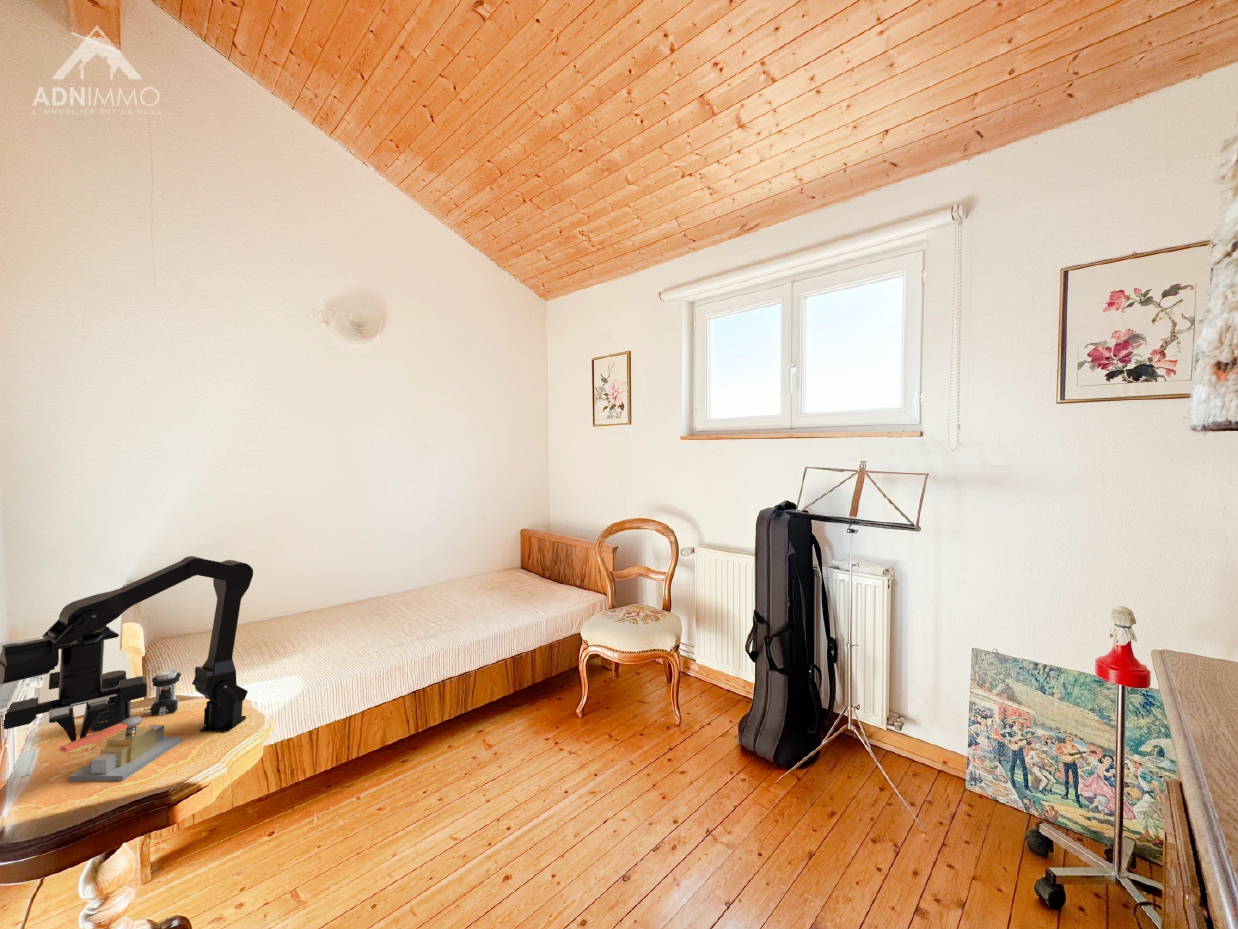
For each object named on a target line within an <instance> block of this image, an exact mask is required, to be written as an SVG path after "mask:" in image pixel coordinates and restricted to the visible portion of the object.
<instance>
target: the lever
mask: <svg viewBox="0 0 1238 929" xmlns="http://www.w3.org/2000/svg"><path fill="white" fill-rule="evenodd" d="M141 724H142V716H137V715H136V716H130V718H127V719H125V720H123V721H122V722H121V723H119V724H116V725H114V726H111V727H109V728H106V729H104V730H101V731H95V732H94V733H91V734H89V735H88V734H87V735H86V737H83V738H81V739H80V738H78V739H76V740H75V741H73V742H71V741H70V742H68V743H66V744H63V745H60V747H59V751H60V752H64V753H68V752H70V751H73V750H76V749H78V748H81V747H83V746H86V745H88V744H91V743H93V742H96V741H99V740H101V739H102V738H105V737H108V736H111V735H113V734H115V733H116V734H117V733H119V732H120V731H121V732H122V731H124V730H126V728H132V727H135V726H136V727H137V726H139V725H141Z"/></svg>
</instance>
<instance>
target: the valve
mask: <svg viewBox="0 0 1238 929" xmlns="http://www.w3.org/2000/svg"><path fill="white" fill-rule="evenodd" d="M164 734H165V725H164V724H150V725H149V726H147V727H145V726H143V727H137V726H135V727H132V728H126V729H123V730H121V732H120V731H119V732H117V733H116V734H115V735H113V736H111V737H110V738H107V739H106V741H105V742H106V743H105V747H103V748H101V749H100V754H99V755H98V756H97V755H96V757H93V758H92V759H91V762H90V763H91V774H106V773H108V772H110V771H111V770H113V769H114V768H116V767H121V766H123V765H125V764H126V763H128V762H132V761H133V760H135V759H137V758H138V757H140V756H141V755H143V754H144V753H146V752H148V751H149V750H151V749H152V748H153V746H155V745H156V744H157V741H159V740H160V739H162V738H164V737H165V736H164Z"/></svg>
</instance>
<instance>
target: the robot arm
mask: <svg viewBox="0 0 1238 929" xmlns="http://www.w3.org/2000/svg"><path fill="white" fill-rule="evenodd" d="M195 576H201V577H205V578H210V579H212V581H213V582H212V584H213V588H214V591H215V596H216V604H215V605H216V606H215V610H214V617H213V623H212V629H211V636H210V643H209V650H208V655H207V659H206V660H205V662H204V664H203V665H201V666H196V667H195V668H194V679H193V681H192V683H191V685H193V686H195V688H194V689H195V691H196V692H197V693H199V694H201V695H202V696H204V699H206V700H207V702H206V706H205V707H204V712H203V713H204V714H203V725H204V726H202V727H201V728H199V732H208V733H209V732H211V733H212V732H219V733H220V732H221V733H222V732H225V733H226V732H230V730H232V729H234V728H235V727H236V726H238V725H239V724H240V723H242V722H243V721H245V720H246V719H247V716H246V715H243V704H244V702H243V701H245V699H246V697H247V695H248V689H245V688H243V687H242V686H239V685H238V683H237V670H236V666H235V663H234V660H233V659H234V658H233V654H234V649H235V642H236V635H237V628H238V624H239V623H238V622H239V616H240V609H241V605H242V604H241V602H242V598H244V596H245V594H246V593H247V591H248V590H249V588H250V586H251V582H252V580H253V577H254V568H253V567H252V566H251V565H250V564H248V563H246V562H242V561H238V560H234V559H227V560H224V561H217V560H211V559H205V558H201V557H198V556H194V555H189V556H186V557H184V558H182V559H181V560H179V561H177V562H175V563H173V564H170V565H168V566H165V567H163V568H161V569H160V570H157V571H155V572H152V573H150V574H148V575H147V576H144V577H142V578H139V579H138V580H135V581H133V582H130V583H129V584H126V585H123V586H121V587H119V588H117V589H114V590H111V591H110V590H109V591H105V592H100V593H97V594H94V595H89V596H87V597H84V598H83V597H82V598H80V599H77V600H74V601H72V602H69V603H68V604H66V605H65V606H64V607H63V608H62V610H61V611H60V613H59V616H58V619H57V620H56V621H55V622H54V623H53V624H52V625H51V626H50V627H49V628H48V629H47V630H46V631H45V633H43V635H42V638H39V639H35V640H29V641H24V642H15V643H14V642H13V643H8V644H7V643H6V644H3V645H2V646H1V652H0V685H5V684H9V683H13V682H19V681H22V680H26V679H30V678H31V679H32V678H35V677H40V676H44V675H48V674H49V677H48V678H49V679H48V690H49V691H50V690H55V689H58V698H57V699H53V700H49V701H48V700H47V701H43V702H39V697H34V698H30V699H29V698H28V699H24V700H20V701H19V700H18V701H15V702H11V703H12V704H11V705H10V707H9V709H8V710H7V713H6V714H5V720H4V725H3V724H2V726H4V729H3V730H9V729H14V728H17V727H22V726H26V725H30V724H31V723H32V722H33V721H35V720H36V719H37V715H40V714H45V713H48V715H49V718H48V723H50V724H54V723H57V724H58V725H59V726H60V727H61V728H62V729H63V730H64V731H65V733H66V735H67V736H68V738H69V741H70V742H73V741H75V740H77V728H76V722H75V714H74V707H77V706H81V705H85V710H84V714H83V719H82V722H81V727H80V732H79V739H81V738H83V737H86V736H88V733H89V731H90V730H91V729H90V727H91V725H92V723H93V722H94V721H95V719H96V718H97V716H98V715H99V714H100V712H101V711H104V710H107V709H108V701H109V698H112V697H117V696H120V699H121V700H123V701H125V702H126V701H130V700H131V701H134V700H138V699H143V698H145V697H146V696H147V693H148V685H147V679H146V677H144V676H143V675H140V676H135V677H131V678H127V679H124V680H120V681H119V686H118V687H113V688H108V689H103V690H102V674H103V670H104V669H103V668H104V653H105V652H104V651H105V650H104V649H105V641H106V640H111V639H116V638H118V637H119V636H120V633H117V632H116V631H115V630H112V629H110V627H109V626H108V625H109V624H111V623H112V622H113V621H116V619H118V618H119V617H120V616H122V615H123V613H124V612H126V611H127V610H129V609H130V608H132V607H133V606H135V605H136V604H139V603H141V602H143V601H145V600H147V599H148V600H149V598H151V597H154V596H156V595H157V594H159V593H161V592H163V591H166V590H169V589H170V588H172V587H174V586H176V585H179V584H181V583H183V582H185V581H187V580H188V579H191V578H193V577H195ZM59 651H60V652H59ZM59 654H60V655H59ZM59 656H60V657H59ZM59 660H60V661H59ZM59 662H60V664H59ZM58 665H59V671H55V672H51V671H53V670H55V669H56V667H57V666H58Z"/></svg>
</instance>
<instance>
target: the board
mask: <svg viewBox="0 0 1238 929" xmlns="http://www.w3.org/2000/svg"><path fill="white" fill-rule="evenodd" d="M182 742H183V737H182V736H164V738H162V739H160V740H159V741H157V744H156V745H155V746H153V748H152V749H151V750H149V751H148V752H146V753H144V754H143V755H141V756H140V757H138V758H137V759H135V760H133V761H132V762H128V763H126V764H125V765H123V766H121V767H116V768H114V769H113V770H111V771H110V772H108V773H106V774H91V763H92V762H90V763H89V764H87V765H84V766H83V767H82V768H79V769H78V770H76V771H75V772H73V773H71V774H69V775H68V782H122V781H125V780H126V779H127V778H129V777H131V776H132V775H134V774H135V773H136V772H138V771H140V770H141V769H143V768H144V767H146V766H147V765H149V764H150V763H151V762H154V761H155V760H156V759H158V758H159V757H160V756H162V755H163V754H165V753H167V752H168V751H170V750H171V749H173V748H174V747H175V746H177V745H179V744H181V743H182Z"/></svg>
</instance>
